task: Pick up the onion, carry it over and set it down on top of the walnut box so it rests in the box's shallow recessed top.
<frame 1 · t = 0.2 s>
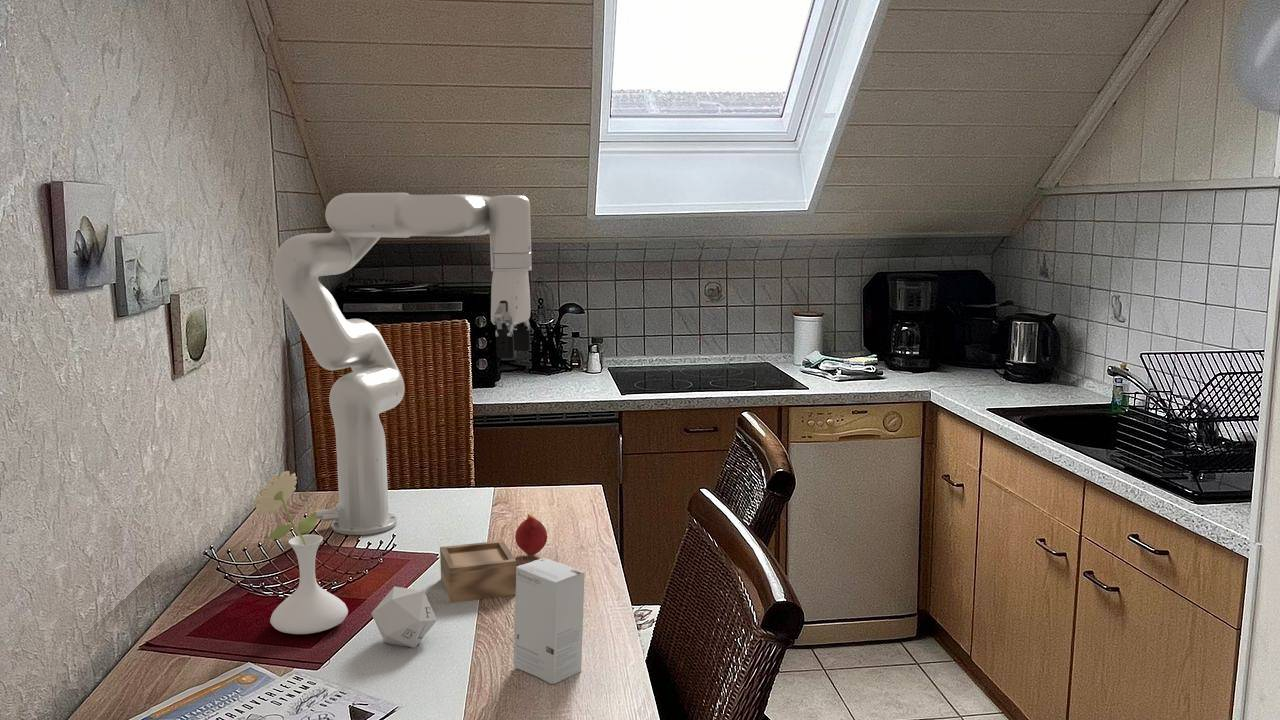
hand: (514, 354, 187), 37 cm above the table, tool pointing down, fingers open, 9 cm apart
die: (405, 642, 148), on the table
walnut box: (478, 586, 169), on the table
flower in vase: (305, 628, 153), on the table
skincare box: (549, 671, 139), on the table
onion: (531, 556, 184), on the table
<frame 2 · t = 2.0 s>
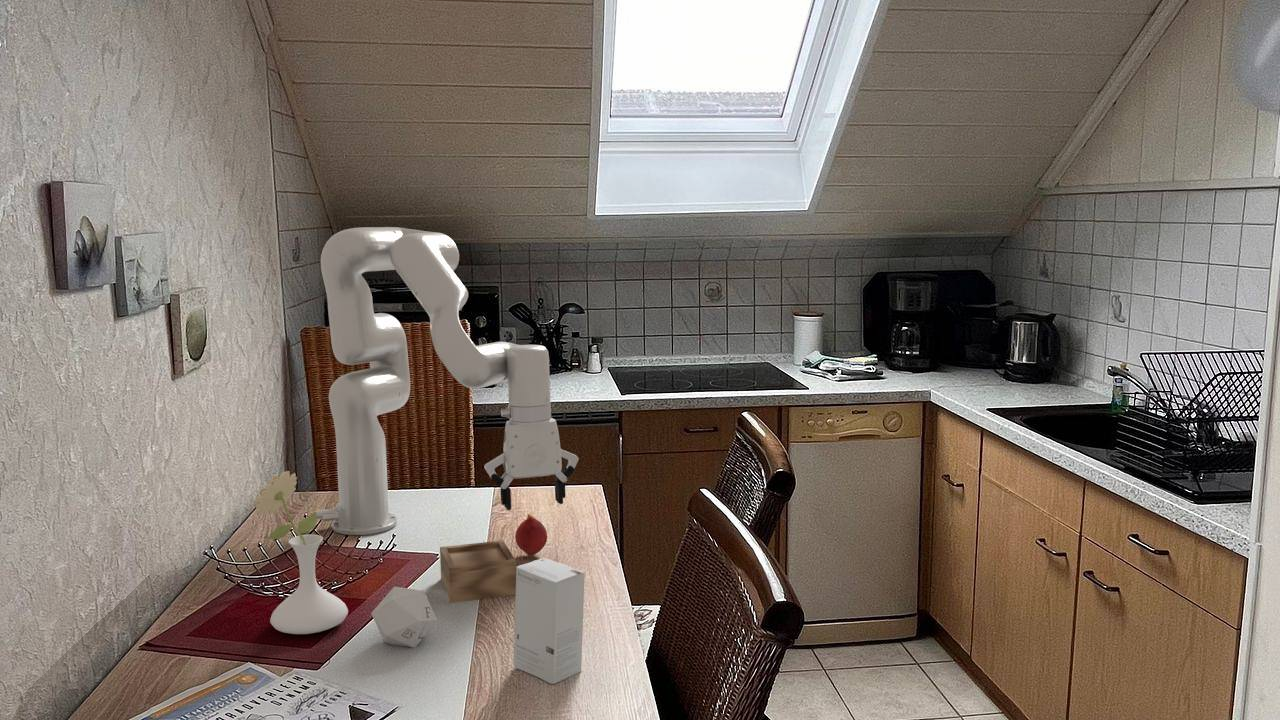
hand: (533, 505, 182), 10 cm above the table, tool pointing down, fingers open, 9 cm apart
nothing on the table moved.
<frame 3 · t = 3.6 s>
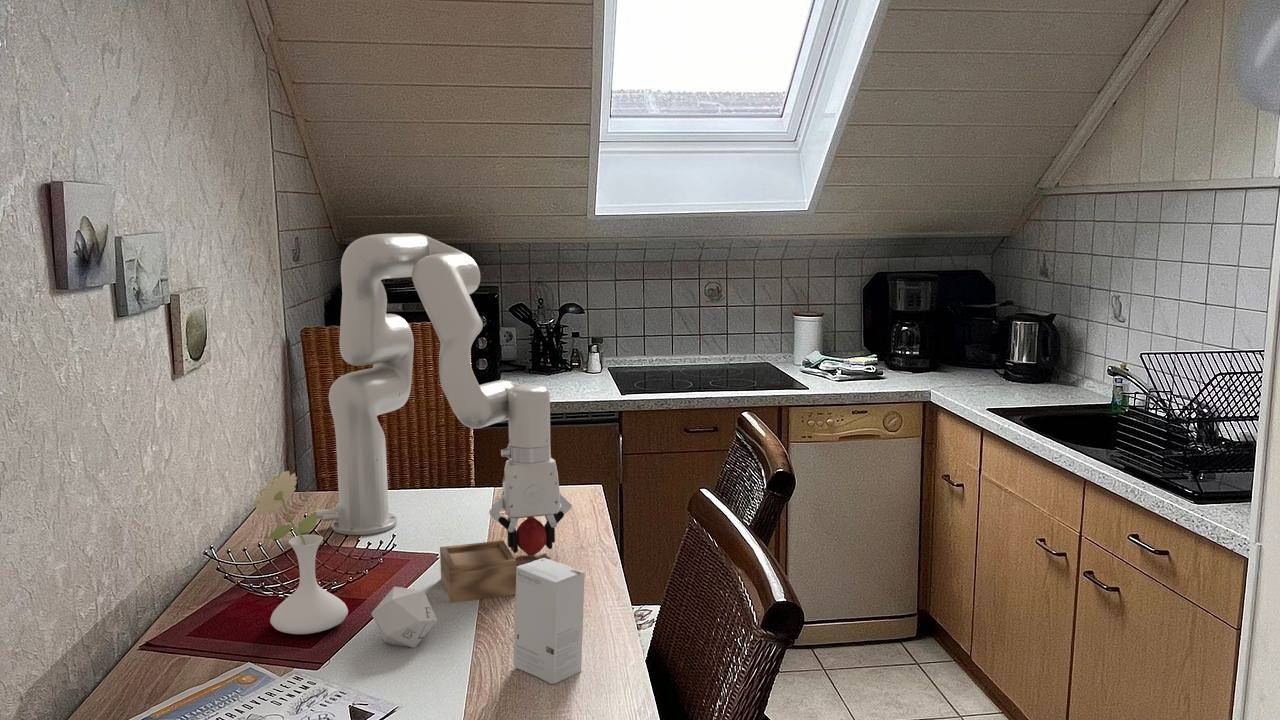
hand: (531, 547, 184), 2 cm above the table, tool pointing down, fingers closed on onion, 5 cm apart
onion: (531, 556, 184), on the table, touching gripper
everything else where it was.
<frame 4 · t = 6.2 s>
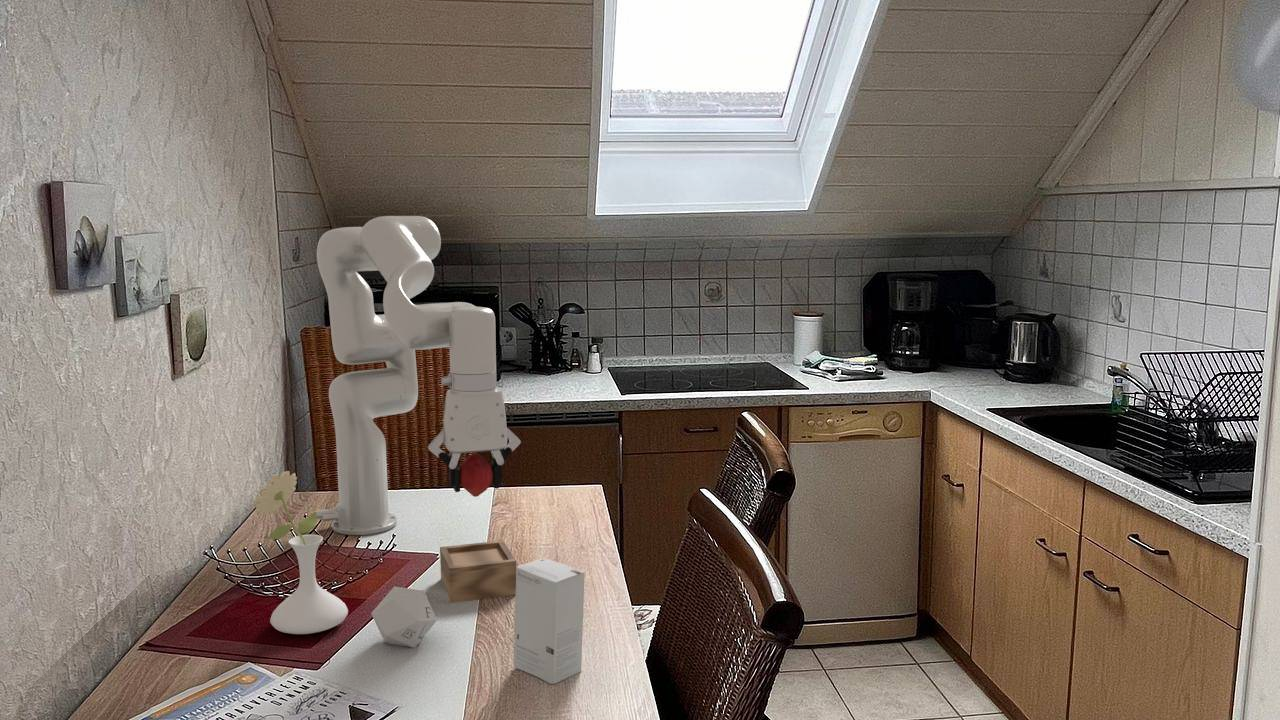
hand: (475, 487, 167), 17 cm above the table, tool pointing down, fingers closed on onion, 5 cm apart
onion: (476, 497, 167), point 16 cm above the table, touching gripper
everything else where it was.
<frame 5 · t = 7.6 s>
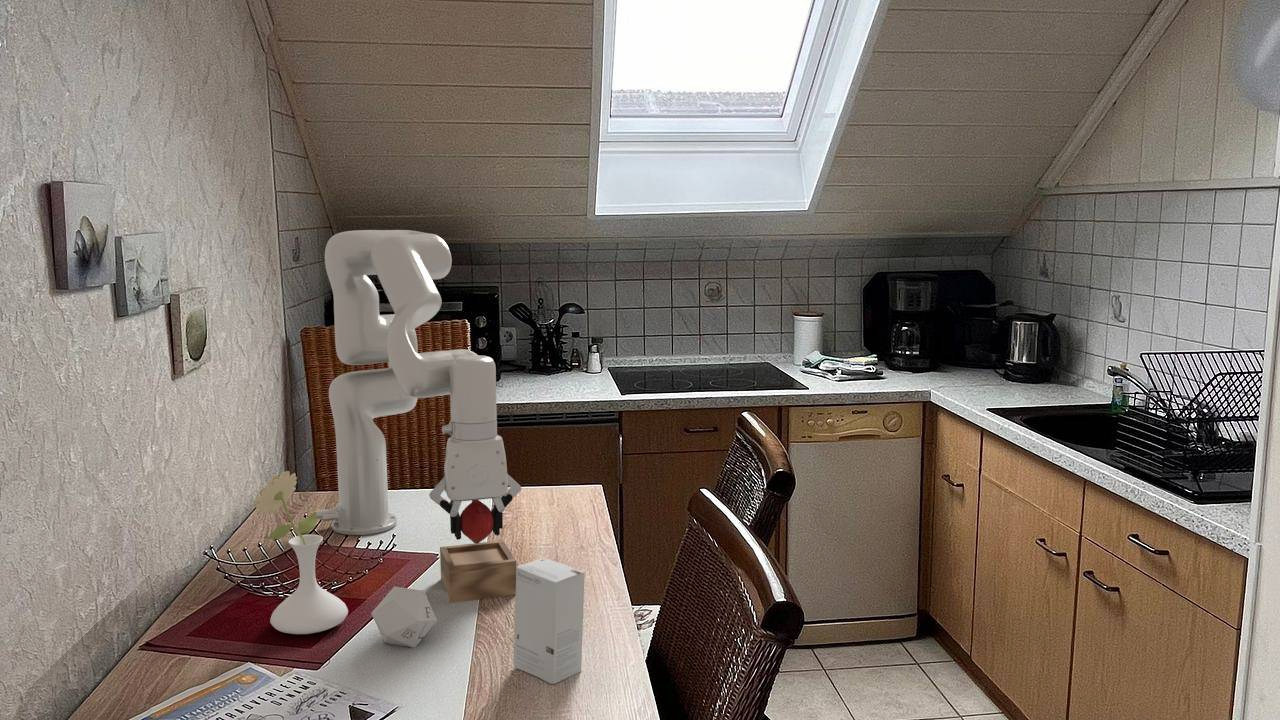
hand: (476, 534, 168), 9 cm above the table, tool pointing down, fingers closed on onion, 5 cm apart
onion: (477, 544, 168), point 8 cm above the table, touching gripper
everything else where it was.
when the fingers open (8 cm above the table, at t = 8.8 s): onion drops 1 cm, resting on walnut box.
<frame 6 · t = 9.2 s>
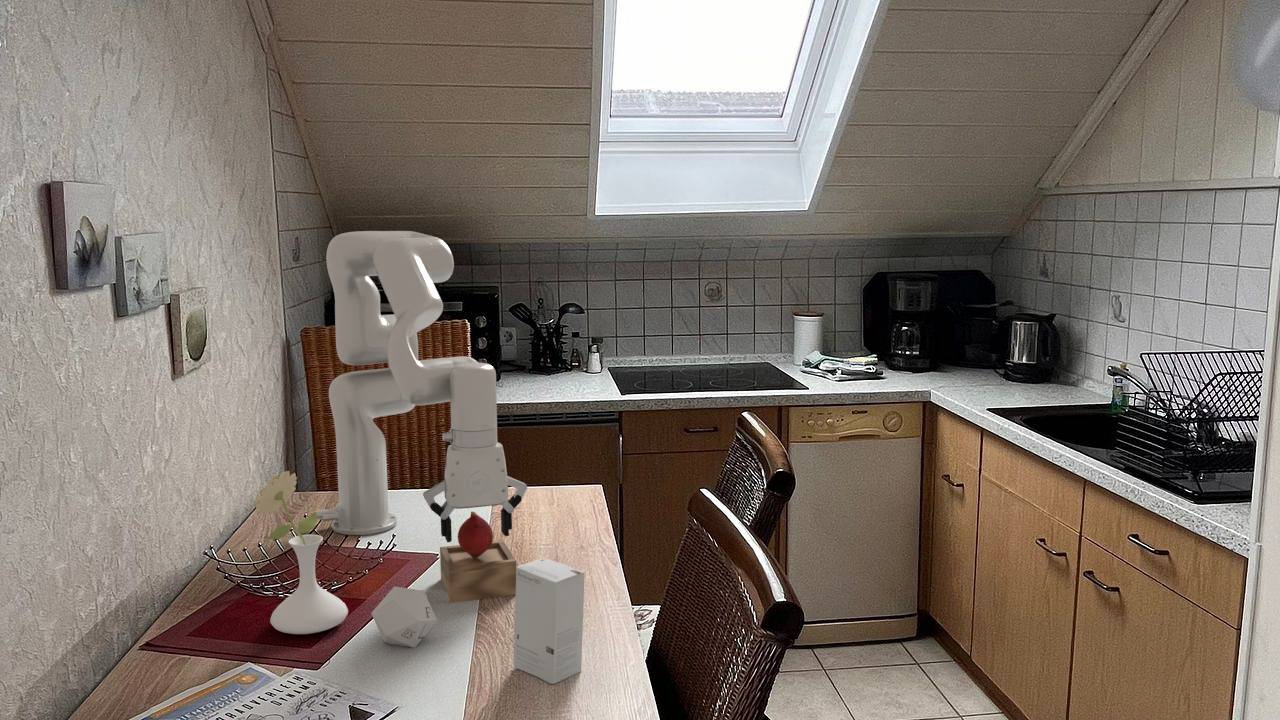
hand: (476, 536, 168), 9 cm above the table, tool pointing down, fingers open, 9 cm apart
onion: (476, 559, 168), point 5 cm above the table, touching walnut box
everything else where it was.
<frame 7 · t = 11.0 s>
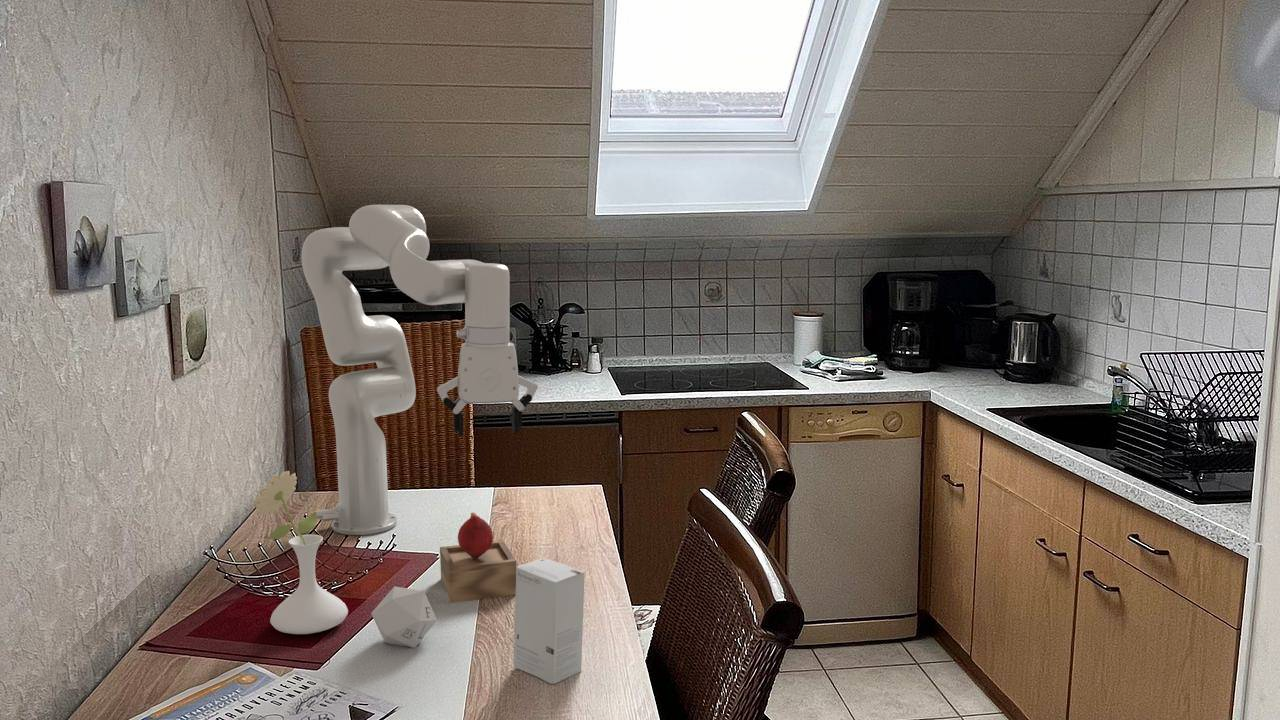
hand: (487, 433, 173), 25 cm above the table, tool pointing down, fingers open, 9 cm apart
nothing on the table moved.
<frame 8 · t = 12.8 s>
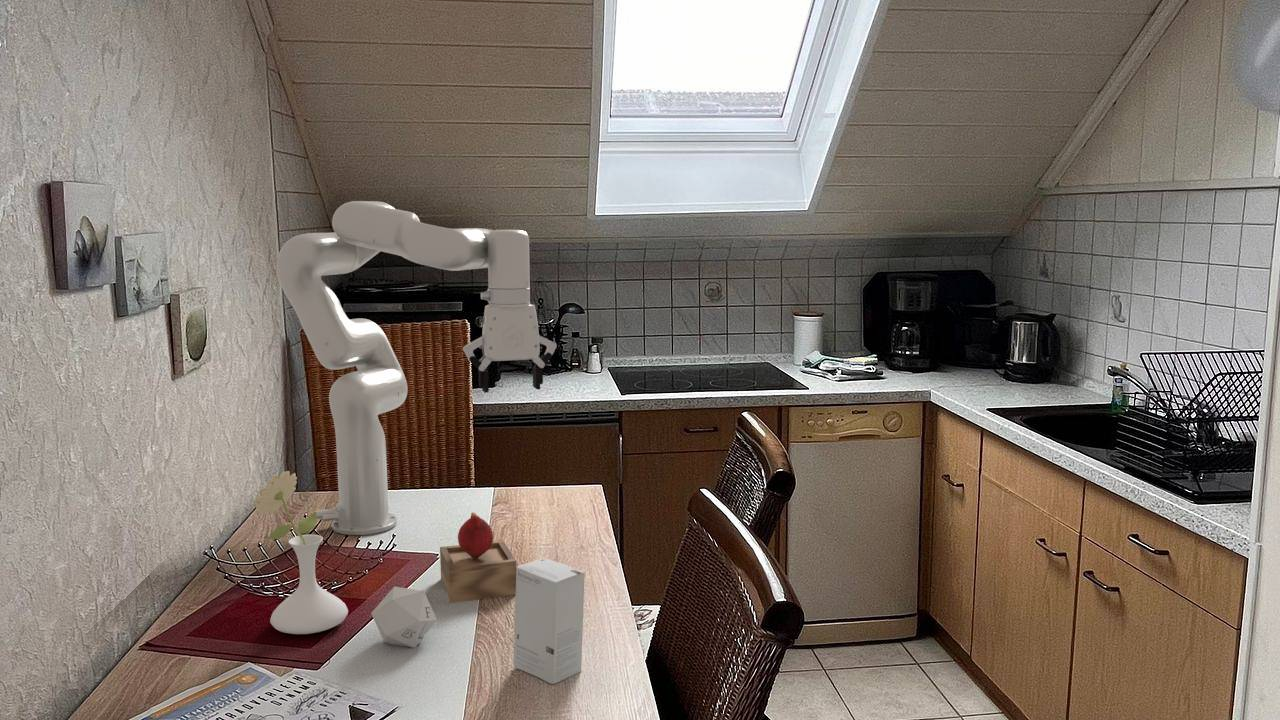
hand: (511, 389, 185), 30 cm above the table, tool pointing down, fingers open, 9 cm apart
nothing on the table moved.
at the end: onion inside the target area on the walnut box (0.2 cm from its centre), point 4.8 cm above the walnut box's base; onion touching walnut box; the gripper is holding nothing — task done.
